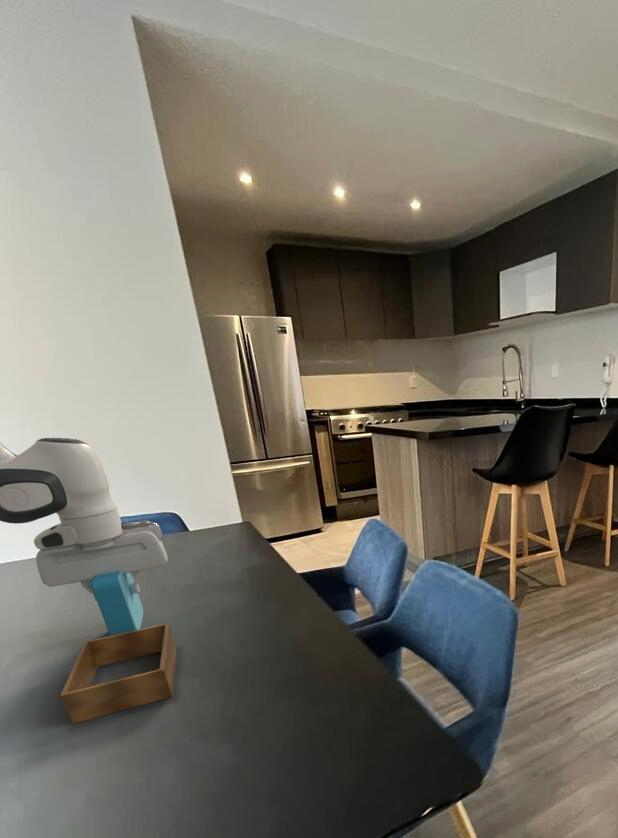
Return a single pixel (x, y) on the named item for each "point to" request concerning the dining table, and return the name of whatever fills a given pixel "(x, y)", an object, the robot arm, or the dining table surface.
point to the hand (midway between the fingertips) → (118, 596)
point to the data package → (118, 602)
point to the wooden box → (122, 692)
